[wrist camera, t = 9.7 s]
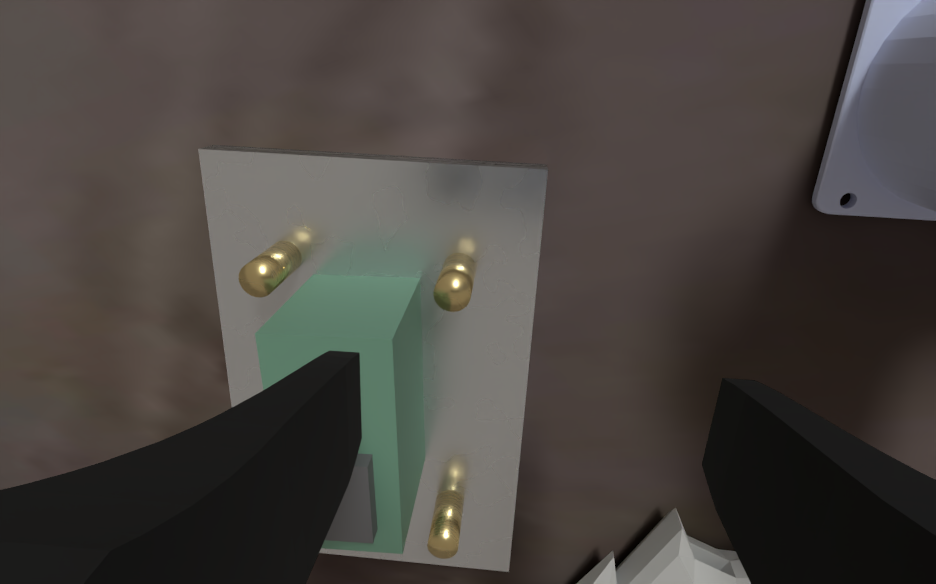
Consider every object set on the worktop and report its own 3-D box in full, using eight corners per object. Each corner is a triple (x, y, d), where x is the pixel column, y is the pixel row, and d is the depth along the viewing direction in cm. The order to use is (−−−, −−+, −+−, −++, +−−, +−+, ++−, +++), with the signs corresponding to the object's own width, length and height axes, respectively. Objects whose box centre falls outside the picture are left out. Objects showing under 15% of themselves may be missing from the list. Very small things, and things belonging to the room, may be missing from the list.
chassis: (546, 164, 20) (552, 184, 17) (509, 554, 26) (508, 622, 23) (212, 145, 20) (155, 159, 17) (258, 529, 27) (223, 592, 24)
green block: (420, 278, 21) (387, 348, 15) (425, 458, 24) (399, 568, 18) (313, 274, 21) (245, 342, 16) (331, 453, 24) (279, 559, 19)
